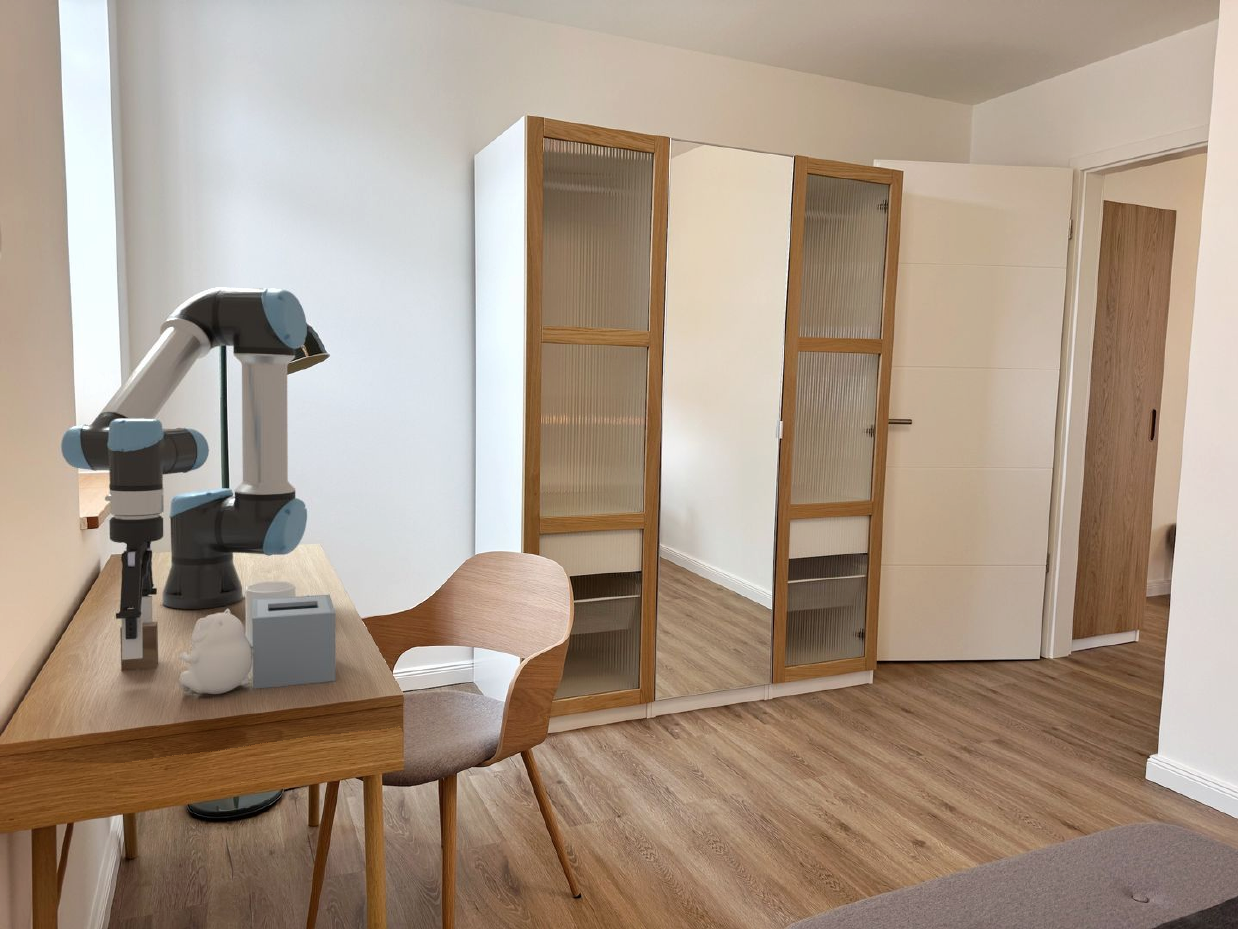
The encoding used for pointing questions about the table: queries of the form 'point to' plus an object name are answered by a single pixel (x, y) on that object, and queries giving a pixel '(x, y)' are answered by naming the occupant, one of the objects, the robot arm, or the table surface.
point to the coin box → (293, 641)
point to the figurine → (217, 655)
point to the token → (144, 649)
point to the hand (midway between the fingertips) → (138, 646)
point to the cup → (261, 592)
